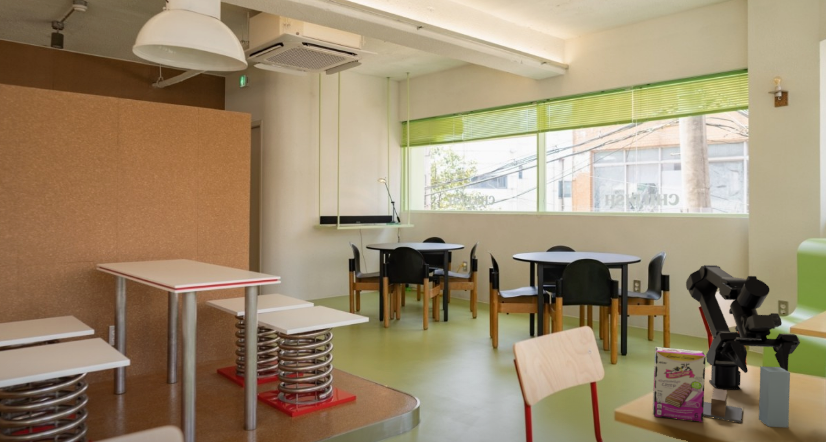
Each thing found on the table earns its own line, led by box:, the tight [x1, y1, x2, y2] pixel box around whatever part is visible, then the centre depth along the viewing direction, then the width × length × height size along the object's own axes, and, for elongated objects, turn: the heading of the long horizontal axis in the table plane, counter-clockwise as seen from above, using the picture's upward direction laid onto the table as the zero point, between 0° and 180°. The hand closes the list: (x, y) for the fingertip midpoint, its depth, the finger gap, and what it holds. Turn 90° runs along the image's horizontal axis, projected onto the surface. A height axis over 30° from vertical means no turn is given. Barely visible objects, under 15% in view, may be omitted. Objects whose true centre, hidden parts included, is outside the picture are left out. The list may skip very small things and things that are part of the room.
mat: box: [703, 401, 743, 424], centre depth 145 cm, size 10×10×1 cm
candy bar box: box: [652, 346, 707, 423], centre depth 141 cm, size 11×5×16 cm, turn 71°
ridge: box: [710, 388, 728, 417], centre depth 145 cm, size 3×9×4 cm, turn 149°
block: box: [758, 366, 791, 428], centre depth 138 cm, size 4×4×13 cm
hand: (766, 372), depth 142 cm, fingers open, 9 cm apart
